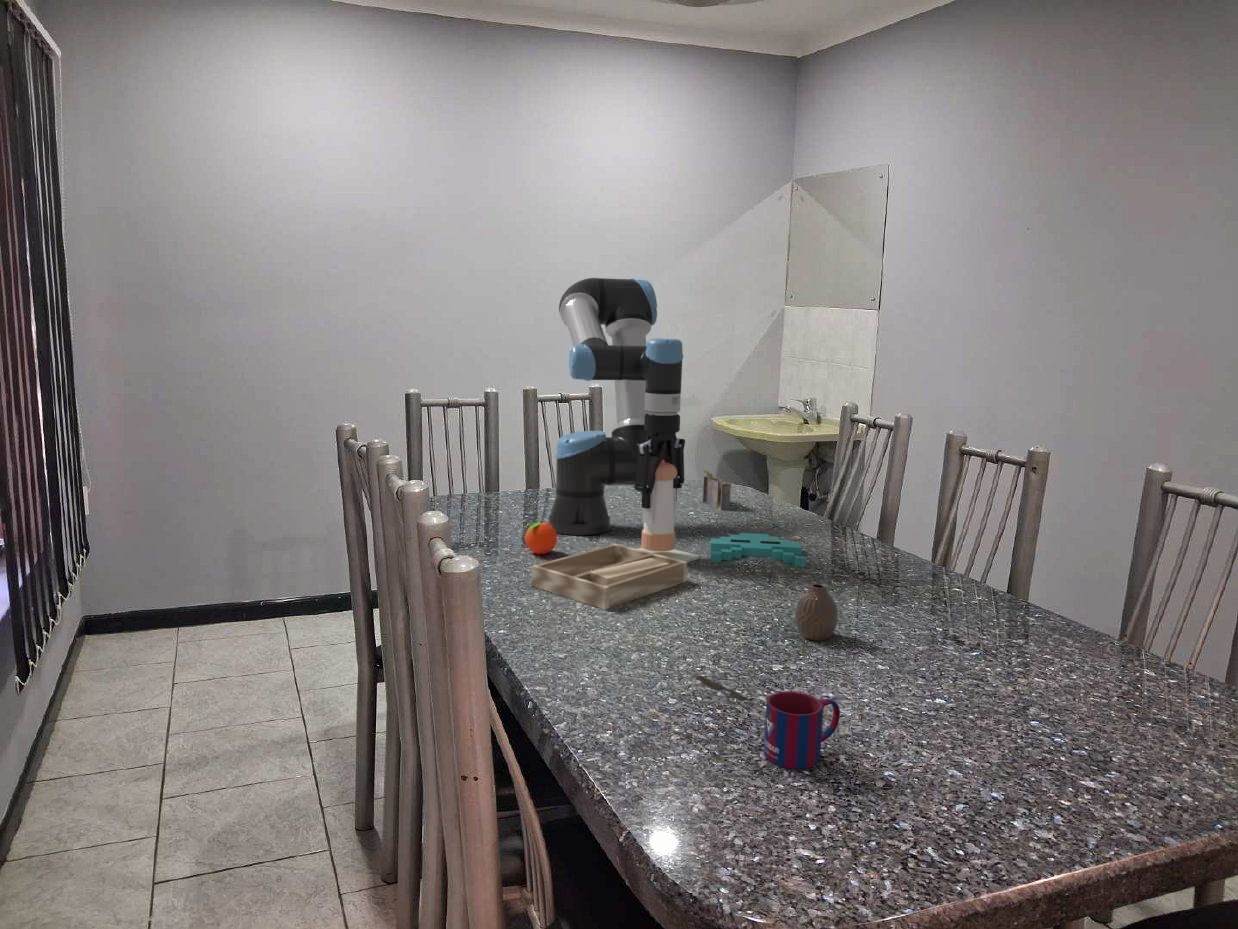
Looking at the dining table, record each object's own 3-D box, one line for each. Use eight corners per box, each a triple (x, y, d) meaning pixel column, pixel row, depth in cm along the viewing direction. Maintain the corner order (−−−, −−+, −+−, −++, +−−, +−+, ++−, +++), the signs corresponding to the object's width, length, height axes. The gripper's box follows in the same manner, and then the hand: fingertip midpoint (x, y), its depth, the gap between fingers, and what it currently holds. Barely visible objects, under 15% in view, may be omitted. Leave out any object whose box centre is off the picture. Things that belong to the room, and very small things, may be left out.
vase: (838, 632, 151) (842, 582, 150) (834, 646, 145) (837, 594, 144) (797, 627, 154) (800, 577, 152) (791, 640, 147) (794, 589, 146)
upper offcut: (589, 585, 168) (589, 572, 168) (651, 570, 178) (651, 557, 178) (606, 591, 164) (607, 578, 164) (668, 576, 175) (669, 563, 174)
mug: (754, 746, 111) (757, 694, 110) (824, 736, 114) (828, 685, 113) (780, 773, 105) (783, 718, 104) (854, 761, 108) (858, 708, 107)
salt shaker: (672, 552, 189) (675, 463, 186) (638, 550, 191) (641, 461, 187) (677, 544, 196) (680, 457, 193) (644, 541, 198) (647, 455, 194)
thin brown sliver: (759, 705, 124) (759, 702, 123) (745, 709, 122) (745, 707, 122) (703, 675, 133) (703, 672, 133) (689, 678, 132) (689, 676, 132)
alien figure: (805, 568, 190) (796, 544, 210) (806, 558, 190) (797, 535, 209) (710, 564, 192) (710, 540, 212) (710, 554, 192) (710, 531, 211)
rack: (531, 586, 172) (531, 566, 171) (614, 562, 190) (614, 543, 189) (604, 609, 160) (605, 588, 159) (686, 581, 178) (687, 561, 177)
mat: (615, 557, 193) (615, 555, 193) (653, 546, 203) (653, 544, 203) (662, 570, 185) (662, 567, 185) (699, 558, 194) (700, 555, 194)
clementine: (538, 560, 190) (539, 528, 188) (514, 554, 194) (514, 522, 192) (563, 553, 196) (564, 521, 195) (539, 547, 200) (540, 516, 199)
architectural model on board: (701, 503, 252) (702, 469, 250) (710, 503, 253) (712, 469, 251) (719, 512, 241) (720, 476, 239) (729, 511, 242) (731, 476, 240)
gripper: (646, 418, 179) (643, 531, 183) (704, 411, 193) (700, 515, 197) (618, 414, 184) (615, 524, 188) (676, 408, 198) (673, 510, 202)
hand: (658, 519), depth 192 cm, fingers closed on salt shaker, 7 cm apart
